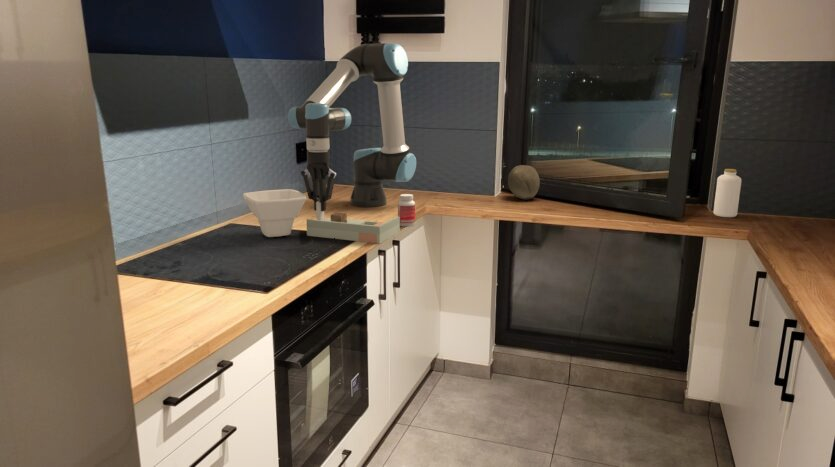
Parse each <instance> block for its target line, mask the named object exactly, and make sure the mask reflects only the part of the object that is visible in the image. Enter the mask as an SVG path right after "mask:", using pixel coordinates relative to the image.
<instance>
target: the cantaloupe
mask: <svg viewBox="0 0 835 467" xmlns="http://www.w3.org/2000/svg"><path fill="white" fill-rule="evenodd" d="M540 184H541V180H540V176H539V173H538V171H537V170H536V168H534V166H532V165H523V164H520V165H516V166H515V167H513V168H512V169H511V171H510V172H509V174H508V179H507V186H508V188H509V191H511V193H512V194H513V195H514V196H515V197H517V198H519V199H520V200H523V201H529V200H530V199H532V198H534V197H535V196H536V195H537V193H538V191H539V189H540Z"/></svg>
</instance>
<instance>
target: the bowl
mask: <svg viewBox="0 0 835 467" xmlns="http://www.w3.org/2000/svg"><path fill="white" fill-rule="evenodd" d="M242 198H243V199H244V201H245V203H246V204H247V206H248V208H249V210H250V211H251V213H252V215H253V216H254V217H255V218H256V219H257V221H258V223H259V227H260V230H261V232H262V233H261V234H263V235H264V236H265V237H267V238H274V237H283V236H285V237H286V236H289V235H291V233H292V228H293V225H294V220H295V218H297V217H298V216H299V214H300V213H301V211H302V209H303V207H304V205H305V202H306V201H307V195H306V194H304V193H302V192H300V191H299V190H296V189H292V188H291V189H290V188H287V189H286V188H285V189H283V188H282V189H272V190H271V189H268V190H267V189H266V190H260V191H259V190H258V191H250V192H249V191H248V192H243V194H242Z"/></svg>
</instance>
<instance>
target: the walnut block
mask: <svg viewBox="0 0 835 467" xmlns="http://www.w3.org/2000/svg"><path fill="white" fill-rule="evenodd" d="M330 217H331V221H333V222H343V223H347V219H348V213H346V212H334V213H330Z"/></svg>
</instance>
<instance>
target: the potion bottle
mask: <svg viewBox="0 0 835 467" xmlns="http://www.w3.org/2000/svg"><path fill="white" fill-rule="evenodd" d="M723 173H724V174H720V175H719V176H718V177H717V179H716V189H715V196H714V203H713V204H714V205H713V214H714V216H716V217H721V218H735V217H736V216H737V215H738V210H739V203H740V202H739V201H740V194H741V188H742V178H741V177H740V176H738V175H737V174H738V173H737V169H735V168H724V171H723Z"/></svg>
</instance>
